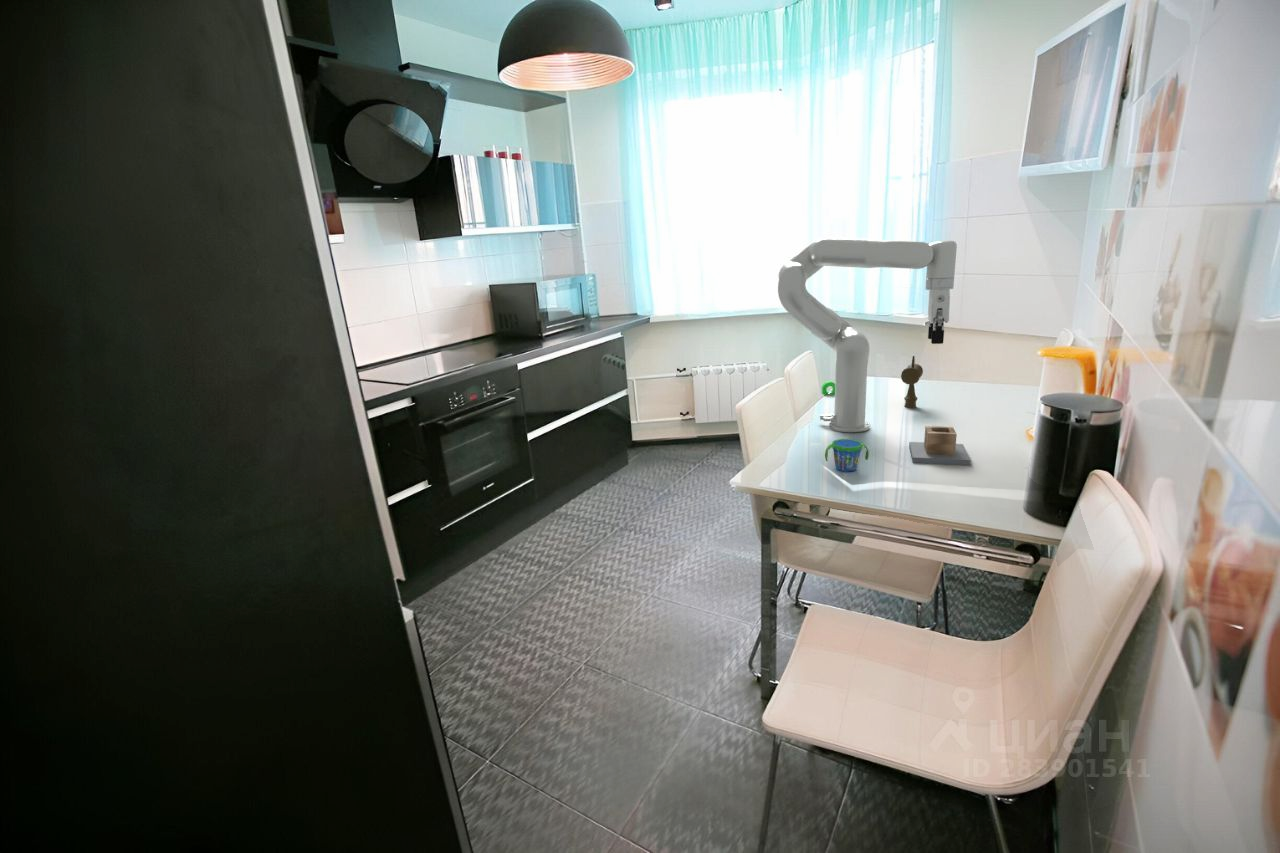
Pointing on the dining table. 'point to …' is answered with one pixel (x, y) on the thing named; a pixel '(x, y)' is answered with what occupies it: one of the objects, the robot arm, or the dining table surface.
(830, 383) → the mechanical part
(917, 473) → the dining table surface
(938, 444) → the brown wooden square box
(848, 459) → the snack cup
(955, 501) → the dining table surface
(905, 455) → the dining table surface
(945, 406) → the dining table surface
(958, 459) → the board
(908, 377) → the kendama
